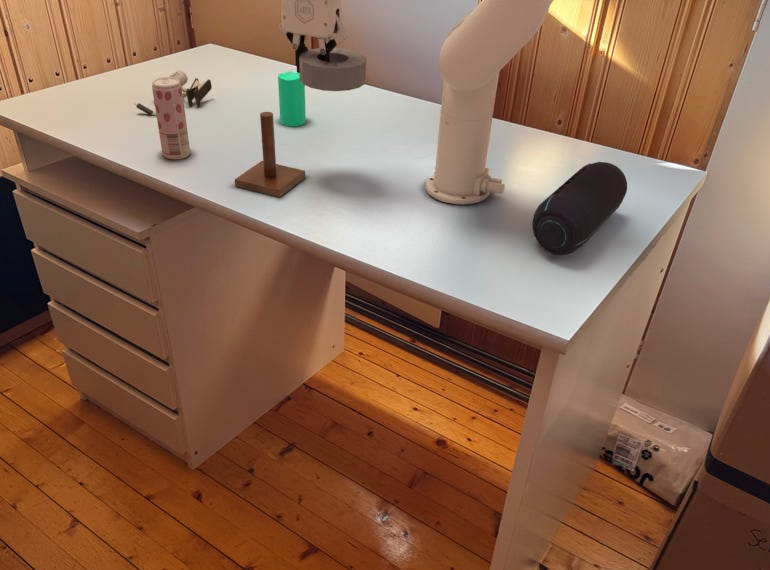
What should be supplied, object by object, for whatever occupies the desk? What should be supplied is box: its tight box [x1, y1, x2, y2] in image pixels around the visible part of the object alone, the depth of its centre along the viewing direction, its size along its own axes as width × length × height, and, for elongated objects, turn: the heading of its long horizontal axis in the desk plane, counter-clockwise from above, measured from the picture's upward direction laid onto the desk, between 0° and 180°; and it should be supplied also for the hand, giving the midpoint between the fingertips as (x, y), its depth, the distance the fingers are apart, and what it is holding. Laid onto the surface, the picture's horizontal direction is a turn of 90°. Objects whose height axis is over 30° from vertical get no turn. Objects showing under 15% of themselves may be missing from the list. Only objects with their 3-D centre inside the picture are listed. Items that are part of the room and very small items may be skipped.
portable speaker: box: [531, 161, 628, 256], centre depth 125 cm, size 25×10×10 cm, turn 145°
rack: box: [234, 111, 306, 198], centre depth 136 cm, size 10×10×14 cm
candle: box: [277, 70, 307, 127], centre depth 161 cm, size 6×6×12 cm
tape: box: [299, 47, 367, 92], centre depth 130 cm, size 12×12×4 cm
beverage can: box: [151, 76, 191, 160], centre depth 144 cm, size 6×6×15 cm
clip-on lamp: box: [133, 69, 213, 116], centre depth 169 cm, size 12×6×18 cm
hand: (312, 72), depth 132 cm, fingers closed on tape, 3 cm apart
